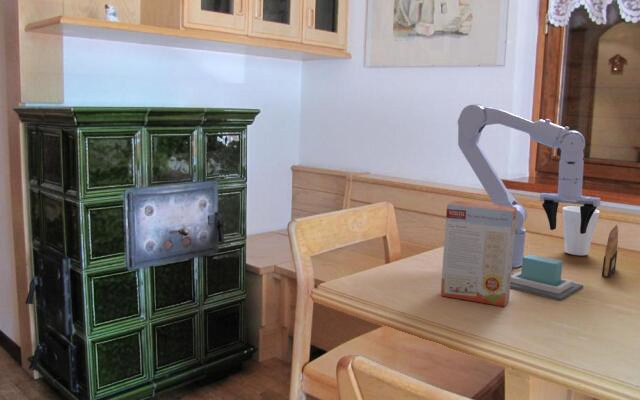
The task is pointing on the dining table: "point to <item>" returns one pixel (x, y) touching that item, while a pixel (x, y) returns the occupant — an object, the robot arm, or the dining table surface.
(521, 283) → the grey square tray
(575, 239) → the cup
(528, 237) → the dining table surface
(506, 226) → the cracker box
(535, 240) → the dining table surface
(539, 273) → the light blue rectangular block
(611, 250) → the ammunition clip
